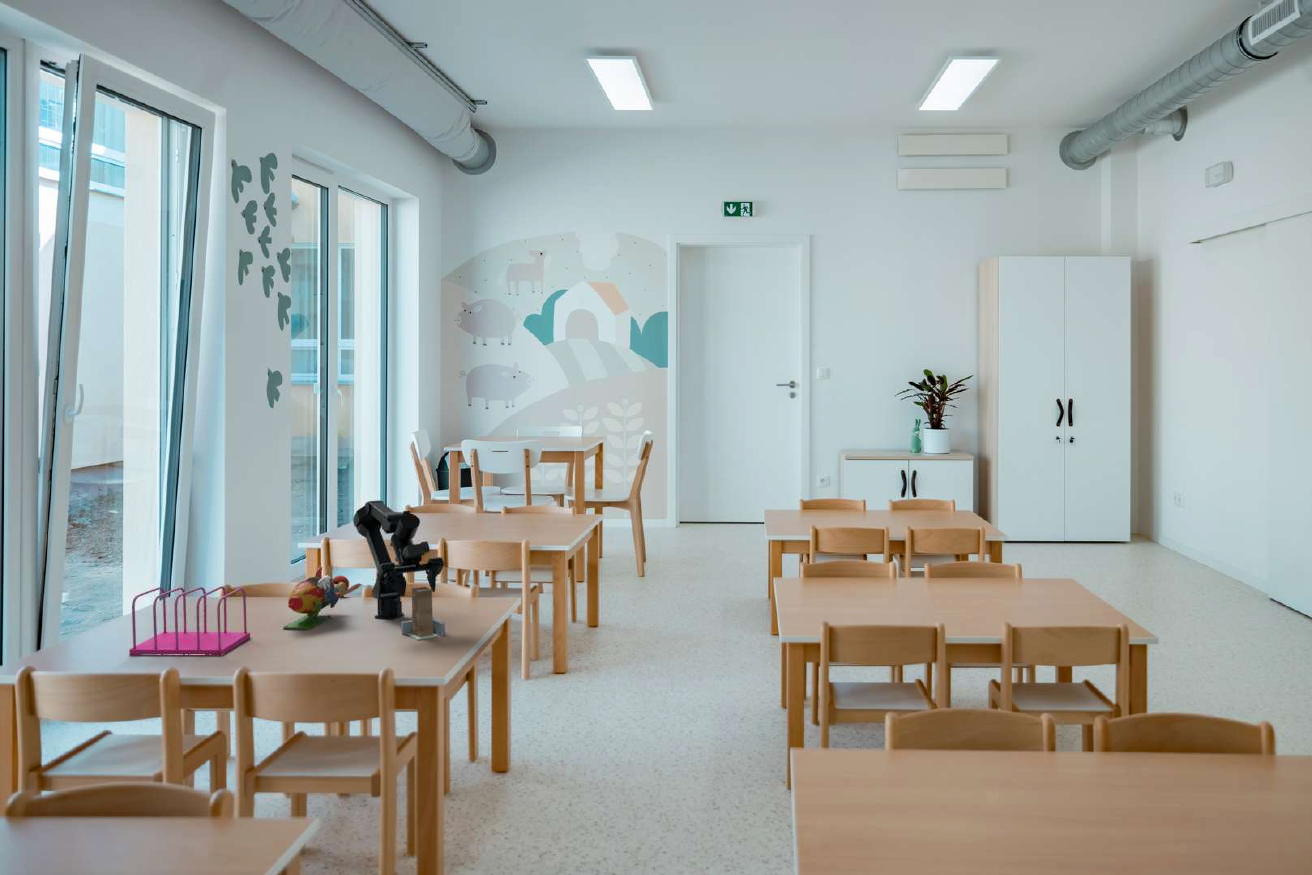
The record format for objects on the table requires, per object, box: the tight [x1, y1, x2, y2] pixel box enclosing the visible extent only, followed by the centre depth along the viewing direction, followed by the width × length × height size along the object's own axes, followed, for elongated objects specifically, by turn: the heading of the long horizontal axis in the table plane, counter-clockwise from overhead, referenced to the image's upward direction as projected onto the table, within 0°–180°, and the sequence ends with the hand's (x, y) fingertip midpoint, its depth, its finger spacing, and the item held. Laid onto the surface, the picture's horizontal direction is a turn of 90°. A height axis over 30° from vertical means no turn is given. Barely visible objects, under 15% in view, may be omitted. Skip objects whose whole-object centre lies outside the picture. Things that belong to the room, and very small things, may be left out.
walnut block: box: [411, 586, 434, 637], centre depth 275 cm, size 5×4×13 cm
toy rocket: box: [282, 566, 341, 631], centre depth 290 cm, size 14×25×15 cm, turn 174°
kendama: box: [332, 575, 350, 598], centre depth 324 cm, size 8×6×18 cm
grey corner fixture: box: [400, 616, 446, 641], centre depth 276 cm, size 9×10×4 cm
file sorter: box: [129, 586, 251, 656], centre depth 265 cm, size 17×25×16 cm
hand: (419, 593), depth 276 cm, fingers open, 9 cm apart
